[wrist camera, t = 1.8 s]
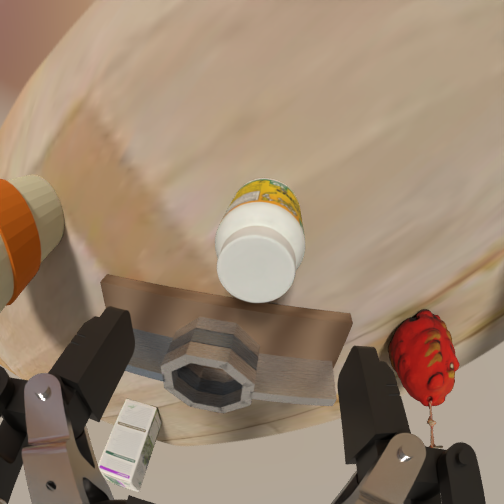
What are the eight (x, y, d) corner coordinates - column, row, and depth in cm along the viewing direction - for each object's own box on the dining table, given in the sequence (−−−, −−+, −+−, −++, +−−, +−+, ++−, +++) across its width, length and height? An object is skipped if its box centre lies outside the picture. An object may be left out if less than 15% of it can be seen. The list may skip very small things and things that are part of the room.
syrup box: (125, 397, 39) (92, 469, 26) (158, 406, 39) (130, 484, 26) (132, 414, 42) (105, 480, 29) (163, 423, 41) (140, 493, 29)
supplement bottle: (220, 195, 23) (182, 249, 14) (280, 164, 21) (277, 201, 13) (253, 250, 25) (236, 325, 16) (311, 223, 23) (325, 291, 15)
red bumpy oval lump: (445, 337, 27) (491, 440, 14) (395, 364, 30) (423, 474, 16) (432, 295, 25) (495, 413, 12) (374, 328, 27) (408, 458, 14)
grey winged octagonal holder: (342, 336, 26) (349, 375, 22) (319, 387, 30) (321, 423, 26) (107, 296, 27) (83, 326, 23) (120, 351, 31) (103, 381, 27)
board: (350, 313, 27) (352, 323, 25) (318, 386, 32) (319, 396, 31) (107, 274, 28) (100, 281, 26) (124, 352, 33) (119, 360, 32)
